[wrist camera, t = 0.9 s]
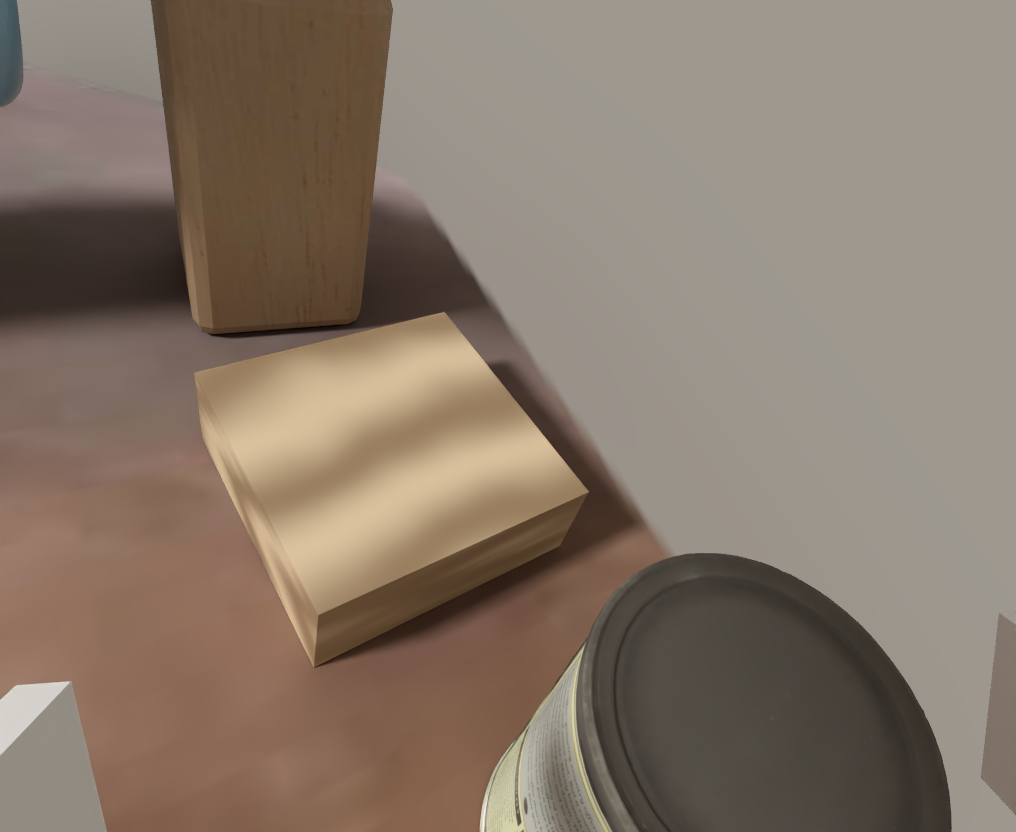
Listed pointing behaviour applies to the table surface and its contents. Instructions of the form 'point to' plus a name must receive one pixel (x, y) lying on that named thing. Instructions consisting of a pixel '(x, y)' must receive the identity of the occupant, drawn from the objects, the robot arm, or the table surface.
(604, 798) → the coffee can
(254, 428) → the oak block
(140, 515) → the table surface
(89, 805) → the robot arm
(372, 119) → the wooden block
